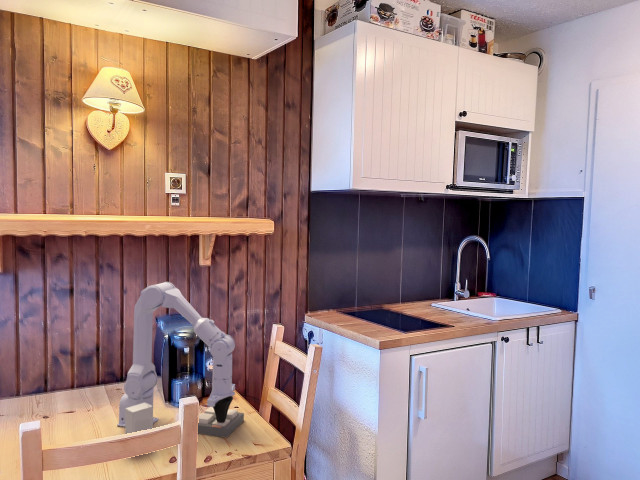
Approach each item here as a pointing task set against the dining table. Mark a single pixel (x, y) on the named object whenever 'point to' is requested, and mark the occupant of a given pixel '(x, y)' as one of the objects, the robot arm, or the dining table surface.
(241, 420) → the console
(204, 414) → the key
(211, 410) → the key
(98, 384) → the dining table surface
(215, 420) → the key
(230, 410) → the key
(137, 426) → the skincare box
